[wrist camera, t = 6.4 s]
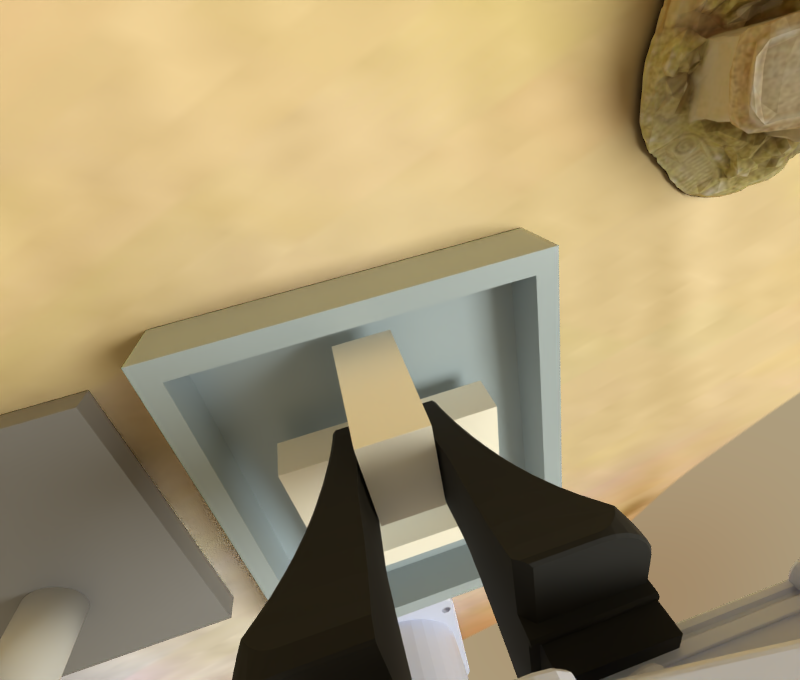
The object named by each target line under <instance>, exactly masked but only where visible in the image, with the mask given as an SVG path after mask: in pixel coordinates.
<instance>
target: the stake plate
mask: <svg viewBox="0 0 800 680" xmlns="http://www.w3.org/2000/svg"><path fill="white" fill-rule="evenodd" d="M232 606H233V596H232V595H231V593H230V592H229V590H228V589H227V587H226V586H225V585H224V583H223V582H222V580H221V579H220V577H219V576H218V575H217V573H216V572H215V570H214V569H213V567H212V566H211V565H210V563H209V562H208V560H207V559H206V557H205V556H204V555H203V553H202V552H201V550H200V549H199V547H198V546H197V545H196V543H195V542H194V540H193V539H192V537H191V536H190V535H189V533H188V532H187V530H186V529H185V527H184V526H183V525H182V523H181V522H180V520H179V519H178V517H177V516H176V515H175V513H174V512H173V510H172V509H171V507H170V506H169V505H168V503H167V502H166V500H165V499H164V497H163V496H162V495H161V493H160V492H159V490H158V489H157V487H156V486H155V485H154V483H153V482H152V480H151V479H150V477H149V476H148V475H147V473H146V472H145V470H144V469H143V467H142V466H141V465H140V463H139V462H138V460H137V459H136V457H135V456H134V455H133V453H132V452H131V450H130V449H129V448H128V446H127V445H126V443H125V442H124V440H123V439H122V438H121V436H120V435H119V433H118V432H117V430H116V429H115V428H114V426H113V425H112V423H111V422H110V420H109V419H108V418H107V416H106V415H105V413H104V412H103V410H102V409H101V408H100V406H99V405H98V403H97V402H96V400H95V399H94V398H93V396H92V395H91V393H90V392H89V390H88V391H84V392H81V393H77V394H74V395H70V396H67V397H63V398H60V399H56V400H53V401H49V402H46V403H42V404H39V405H35V406H32V407H28V408H25V409H21V410H18V411H14V412H10V413H7V414H3V415H0V680H60V679H61V677H63V676H66V675H68V674H71V673H74V672H77V671H80V670H83V669H86V668H89V667H91V666H94V665H97V664H100V663H103V662H106V661H109V660H111V659H114V658H117V657H120V656H123V655H126V654H129V653H132V652H134V651H137V650H140V649H143V648H146V647H149V646H152V645H154V644H157V643H160V642H163V641H166V640H169V639H172V638H175V637H177V636H180V635H183V634H186V633H189V632H192V631H195V630H197V629H200V628H203V627H206V626H209V625H212V624H215V623H218V622H220V621H223V620H226V619H229V618H231V615H232Z"/></svg>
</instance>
